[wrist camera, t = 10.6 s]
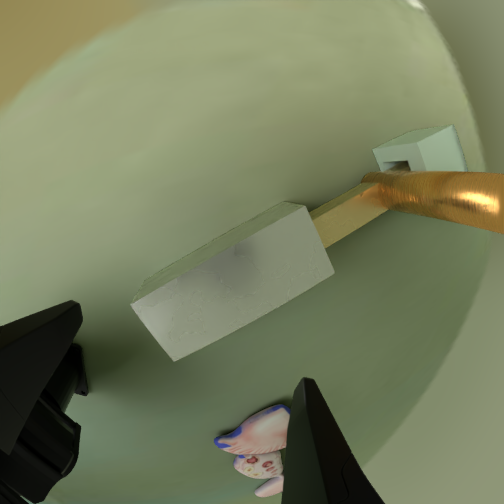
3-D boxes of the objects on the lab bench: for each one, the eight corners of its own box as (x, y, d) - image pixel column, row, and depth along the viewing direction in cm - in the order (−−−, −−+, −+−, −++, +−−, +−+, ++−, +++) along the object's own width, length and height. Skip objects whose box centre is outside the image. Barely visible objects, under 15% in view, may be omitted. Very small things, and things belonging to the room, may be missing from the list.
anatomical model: (260, 489, 32) (341, 451, 32) (263, 502, 29) (348, 464, 29) (172, 444, 26) (279, 392, 26) (172, 462, 23) (286, 411, 23)
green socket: (394, 209, 23) (439, 217, 17) (371, 149, 21) (416, 142, 15) (429, 186, 23) (472, 190, 17) (409, 131, 21) (453, 124, 16)
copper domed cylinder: (247, 283, 21) (305, 404, 8) (228, 250, 20) (268, 349, 8) (425, 177, 22) (539, 187, 9) (415, 148, 21) (532, 143, 8)
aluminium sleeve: (178, 328, 22) (174, 361, 17) (144, 280, 20) (130, 304, 16) (309, 255, 22) (335, 273, 18) (283, 201, 21) (305, 205, 16)
